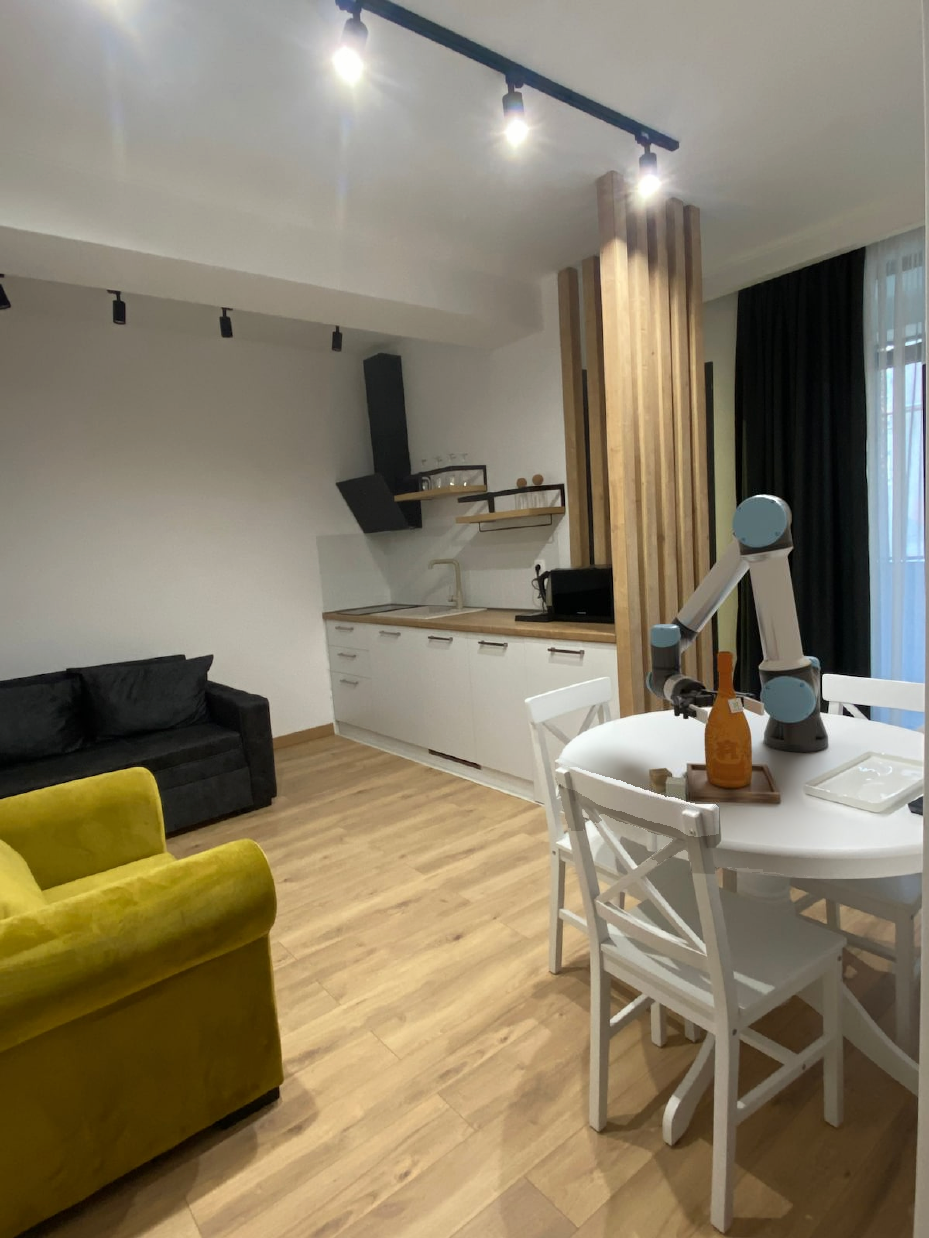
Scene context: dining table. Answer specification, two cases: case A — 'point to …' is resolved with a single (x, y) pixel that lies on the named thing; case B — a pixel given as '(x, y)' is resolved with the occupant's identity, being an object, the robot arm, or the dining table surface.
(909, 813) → the dining table surface
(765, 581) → the robot arm
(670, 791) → the pale grey cube
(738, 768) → the wine bottle
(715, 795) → the tray
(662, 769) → the oak block
